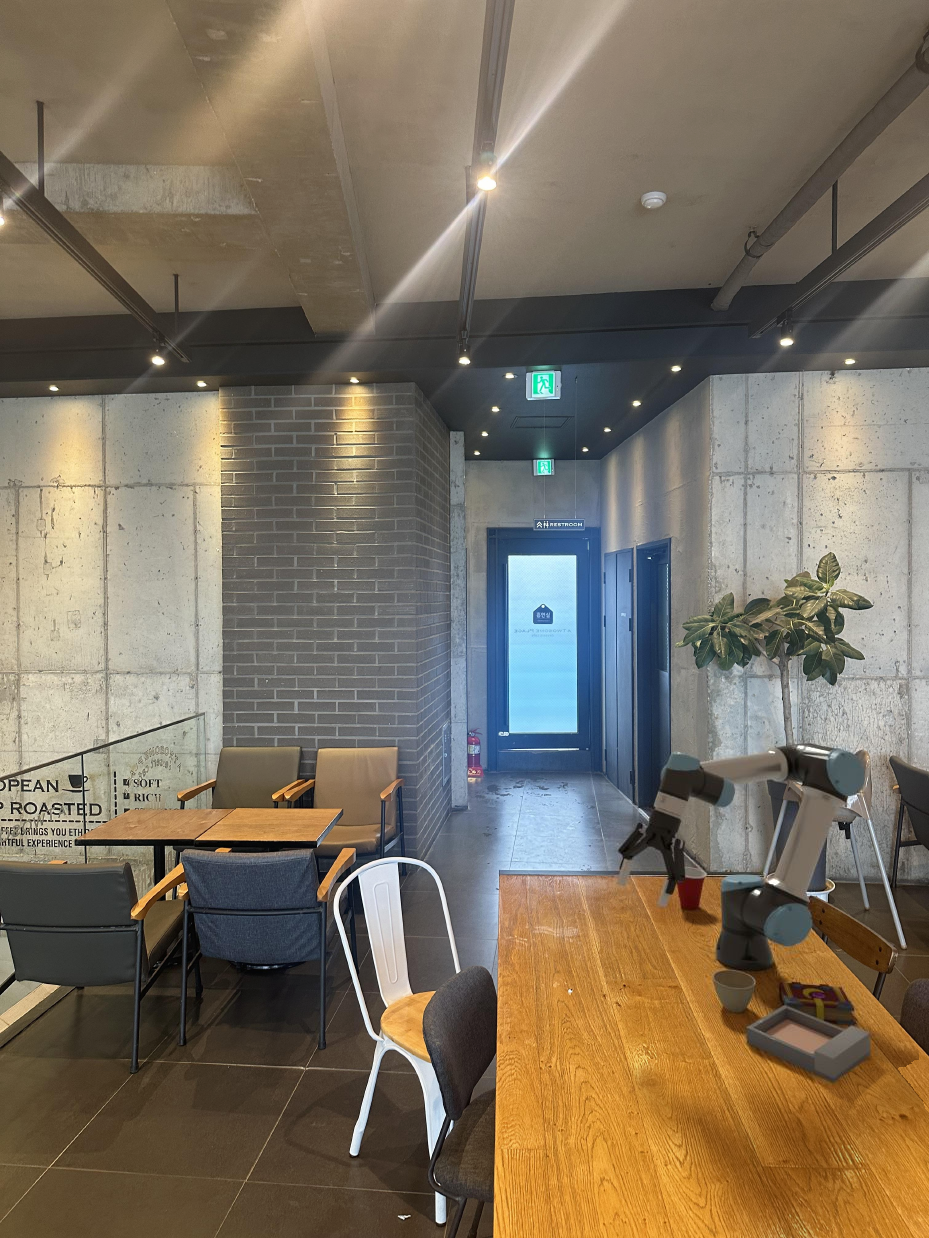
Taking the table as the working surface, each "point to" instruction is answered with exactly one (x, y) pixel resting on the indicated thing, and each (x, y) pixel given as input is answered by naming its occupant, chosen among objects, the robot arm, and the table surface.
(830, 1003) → the decorative book
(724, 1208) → the table surface
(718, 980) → the flower pot
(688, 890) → the plastic cup
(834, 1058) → the grey open tray
